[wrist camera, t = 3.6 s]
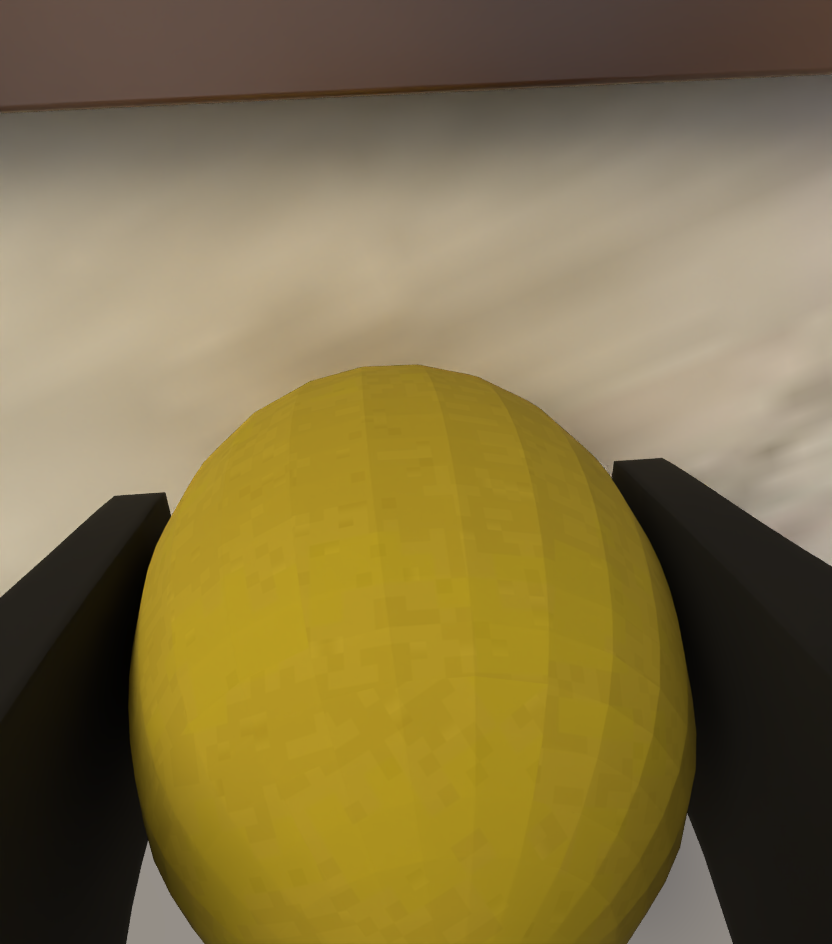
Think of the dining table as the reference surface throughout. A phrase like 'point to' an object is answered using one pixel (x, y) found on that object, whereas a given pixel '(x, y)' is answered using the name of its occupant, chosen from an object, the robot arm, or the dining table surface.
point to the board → (387, 47)
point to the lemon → (409, 678)
